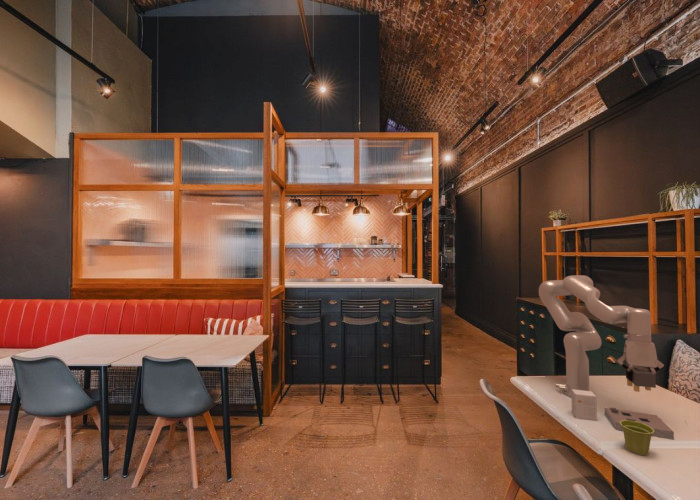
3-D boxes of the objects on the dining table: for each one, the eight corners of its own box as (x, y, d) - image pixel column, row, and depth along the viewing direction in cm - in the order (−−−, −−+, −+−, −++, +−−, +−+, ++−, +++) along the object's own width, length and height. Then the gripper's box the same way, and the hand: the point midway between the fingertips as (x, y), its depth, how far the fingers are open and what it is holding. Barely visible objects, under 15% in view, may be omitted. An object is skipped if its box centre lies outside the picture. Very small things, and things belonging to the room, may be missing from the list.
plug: (636, 392, 134) (635, 371, 134) (626, 384, 143) (625, 364, 143) (655, 394, 132) (655, 372, 132) (644, 385, 141) (643, 365, 141)
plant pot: (613, 443, 123) (613, 420, 123) (636, 442, 124) (636, 419, 124) (637, 459, 114) (637, 434, 114) (661, 457, 115) (661, 432, 115)
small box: (592, 415, 145) (592, 391, 145) (597, 421, 139) (597, 396, 139) (571, 412, 147) (571, 388, 147) (575, 418, 142) (575, 393, 142)
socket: (615, 429, 132) (615, 420, 132) (604, 414, 145) (604, 406, 145) (673, 439, 126) (673, 430, 126) (656, 422, 138) (656, 413, 138)
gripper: (618, 338, 137) (619, 381, 137) (670, 342, 132) (671, 387, 131) (610, 334, 144) (611, 375, 144) (660, 337, 139) (661, 380, 138)
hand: (640, 380), depth 138 cm, fingers closed on plug, 6 cm apart
